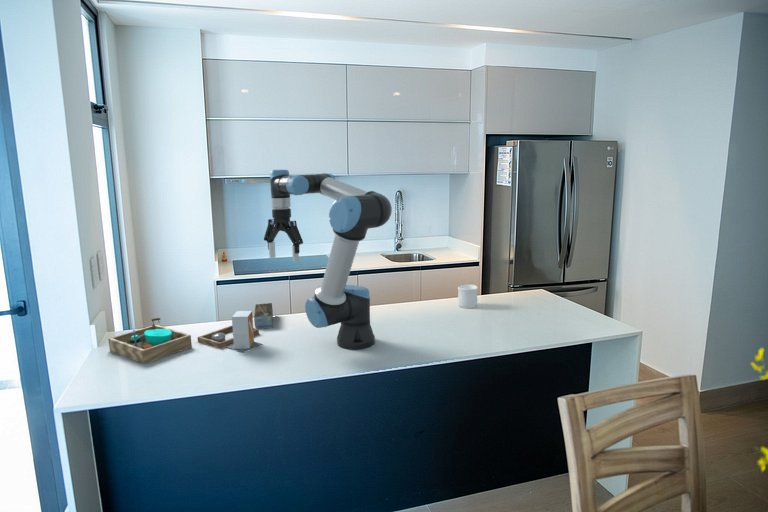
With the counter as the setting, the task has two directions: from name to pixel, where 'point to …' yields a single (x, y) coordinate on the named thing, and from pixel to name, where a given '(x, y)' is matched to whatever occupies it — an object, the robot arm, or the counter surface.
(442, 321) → the counter surface
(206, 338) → the frame
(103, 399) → the counter surface
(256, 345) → the mat
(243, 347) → the small box
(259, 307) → the beverage carton
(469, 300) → the cup
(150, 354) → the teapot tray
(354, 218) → the robot arm
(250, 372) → the counter surface
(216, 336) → the tin
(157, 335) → the contraption on wooden base
